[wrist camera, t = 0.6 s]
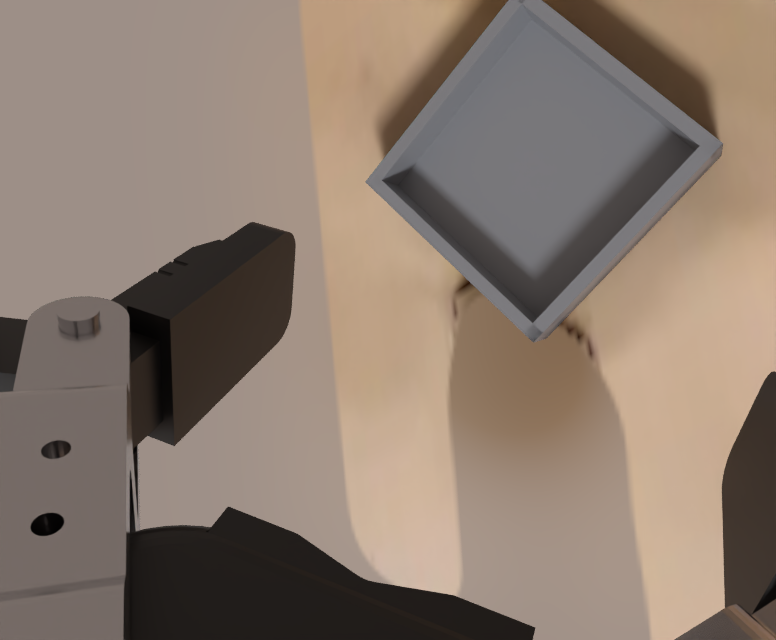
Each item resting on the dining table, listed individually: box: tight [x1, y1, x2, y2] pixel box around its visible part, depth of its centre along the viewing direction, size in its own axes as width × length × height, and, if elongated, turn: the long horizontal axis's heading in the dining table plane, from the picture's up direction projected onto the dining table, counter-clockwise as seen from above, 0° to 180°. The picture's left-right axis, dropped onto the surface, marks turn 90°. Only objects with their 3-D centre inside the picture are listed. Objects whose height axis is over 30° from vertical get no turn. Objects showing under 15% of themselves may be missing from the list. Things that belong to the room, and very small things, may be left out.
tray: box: [366, 0, 723, 342], centre depth 34 cm, size 11×11×3 cm
